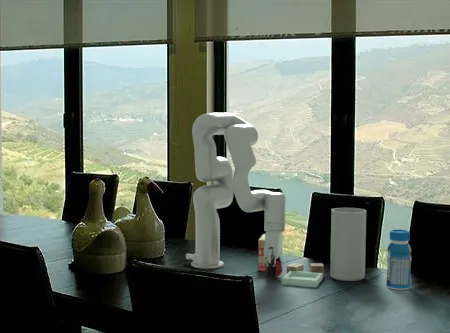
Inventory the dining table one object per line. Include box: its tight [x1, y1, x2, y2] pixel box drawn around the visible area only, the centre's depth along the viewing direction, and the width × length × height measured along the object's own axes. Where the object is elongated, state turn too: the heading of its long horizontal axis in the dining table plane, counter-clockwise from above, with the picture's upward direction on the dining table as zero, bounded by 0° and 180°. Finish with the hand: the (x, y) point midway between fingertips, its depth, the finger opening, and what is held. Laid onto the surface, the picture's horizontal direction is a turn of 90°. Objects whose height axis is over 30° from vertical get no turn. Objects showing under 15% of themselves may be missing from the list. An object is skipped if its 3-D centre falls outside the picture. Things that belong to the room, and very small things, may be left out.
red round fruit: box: [265, 260, 283, 280], centre depth 262 cm, size 6×6×8 cm
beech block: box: [286, 262, 304, 274], centre depth 268 cm, size 4×6×4 cm, turn 148°
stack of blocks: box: [257, 233, 273, 272], centre depth 285 cm, size 21×6×12 cm, turn 169°
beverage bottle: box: [386, 228, 412, 291], centre depth 250 cm, size 8×8×20 cm
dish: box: [282, 271, 324, 288], centre depth 258 cm, size 12×12×2 cm
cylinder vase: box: [329, 207, 367, 282], centre depth 264 cm, size 12×12×25 cm
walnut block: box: [309, 262, 325, 274], centre depth 266 cm, size 4×4×4 cm
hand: (274, 274), depth 262 cm, fingers open, 6 cm apart
